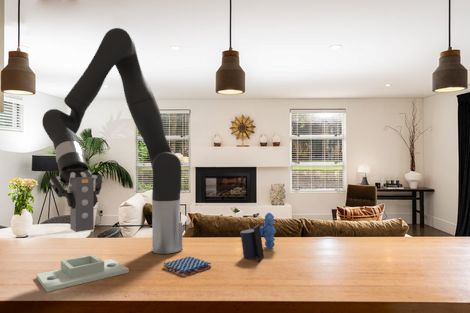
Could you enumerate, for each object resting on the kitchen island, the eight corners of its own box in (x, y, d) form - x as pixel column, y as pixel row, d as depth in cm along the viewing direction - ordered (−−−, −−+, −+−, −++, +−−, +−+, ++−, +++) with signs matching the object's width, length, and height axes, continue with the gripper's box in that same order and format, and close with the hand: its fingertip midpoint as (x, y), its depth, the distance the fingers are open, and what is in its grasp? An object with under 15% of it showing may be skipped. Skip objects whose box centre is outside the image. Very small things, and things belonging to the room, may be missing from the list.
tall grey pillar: (87, 226, 94) (87, 176, 94) (93, 229, 90) (93, 177, 90) (70, 228, 91) (70, 177, 91) (75, 232, 87) (75, 178, 87)
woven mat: (189, 261, 103) (189, 254, 103) (212, 269, 95) (212, 262, 95) (160, 269, 95) (160, 262, 95) (183, 279, 88) (183, 271, 88)
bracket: (112, 262, 101) (112, 250, 101) (128, 272, 92) (128, 259, 92) (36, 278, 88) (36, 264, 88) (46, 291, 78) (46, 277, 79)
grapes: (257, 243, 122) (257, 210, 122) (275, 243, 122) (275, 210, 122) (257, 252, 110) (256, 216, 110) (277, 252, 110) (277, 216, 110)
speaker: (270, 256, 104) (266, 223, 105) (259, 262, 100) (255, 227, 100) (250, 254, 109) (247, 223, 109) (240, 260, 105) (236, 227, 105)
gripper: (45, 150, 91) (57, 199, 82) (99, 151, 101) (114, 194, 92) (41, 169, 95) (52, 217, 86) (93, 168, 105) (107, 211, 96)
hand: (84, 205), depth 89 cm, fingers closed on tall grey pillar, 4 cm apart
